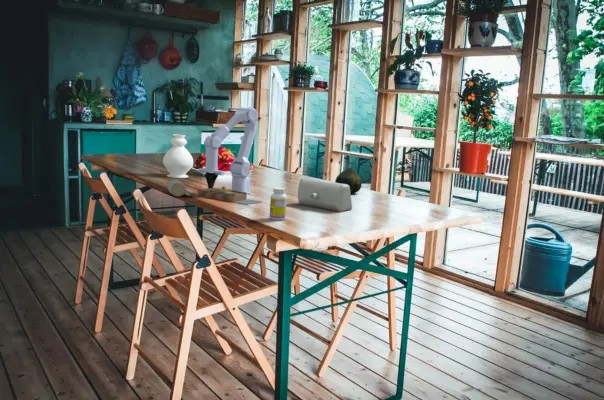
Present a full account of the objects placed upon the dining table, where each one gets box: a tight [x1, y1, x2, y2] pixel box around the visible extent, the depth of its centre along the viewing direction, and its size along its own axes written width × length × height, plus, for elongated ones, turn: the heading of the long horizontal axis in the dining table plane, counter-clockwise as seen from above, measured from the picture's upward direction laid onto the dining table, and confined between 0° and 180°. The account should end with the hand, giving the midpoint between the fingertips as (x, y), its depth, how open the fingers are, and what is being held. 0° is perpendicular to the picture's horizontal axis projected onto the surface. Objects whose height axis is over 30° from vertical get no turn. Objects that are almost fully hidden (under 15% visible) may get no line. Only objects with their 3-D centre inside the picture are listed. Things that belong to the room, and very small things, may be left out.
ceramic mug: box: [167, 178, 192, 198], centre depth 272 cm, size 11×8×8 cm
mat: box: [233, 198, 263, 206], centre depth 267 cm, size 12×8×1 cm, turn 149°
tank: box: [297, 177, 353, 213], centre depth 265 cm, size 25×16×12 cm, turn 54°
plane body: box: [197, 187, 248, 203], centre depth 274 cm, size 22×10×4 cm, turn 59°
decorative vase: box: [162, 133, 194, 179], centre depth 337 cm, size 18×18×25 cm
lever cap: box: [213, 186, 232, 193], centre depth 274 cm, size 7×5×3 cm
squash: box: [334, 167, 363, 195], centre depth 318 cm, size 14×15×15 cm
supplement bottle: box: [269, 187, 288, 221], centre depth 231 cm, size 7×7×13 cm
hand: (210, 188), depth 278 cm, fingers closed
